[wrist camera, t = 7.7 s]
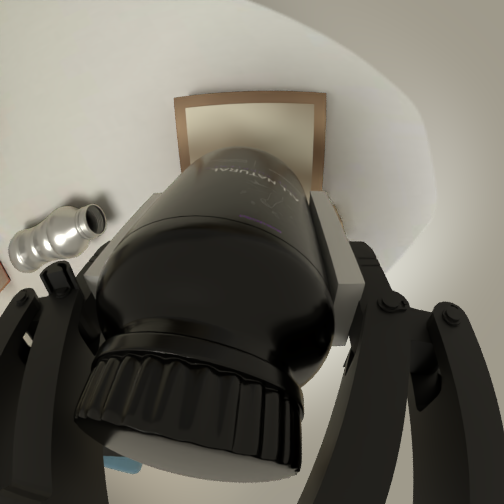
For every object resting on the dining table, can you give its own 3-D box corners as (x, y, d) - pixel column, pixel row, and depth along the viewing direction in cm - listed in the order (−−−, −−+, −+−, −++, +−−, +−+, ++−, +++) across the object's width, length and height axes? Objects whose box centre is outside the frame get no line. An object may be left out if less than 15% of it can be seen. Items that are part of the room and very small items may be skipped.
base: (312, 209, 28) (319, 229, 24) (198, 209, 29) (188, 228, 25) (317, 92, 21) (327, 93, 18) (187, 96, 22) (172, 98, 18)
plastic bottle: (18, 226, 31) (92, 179, 26) (41, 254, 35) (121, 223, 31) (-3, 254, 26) (65, 214, 22) (24, 284, 31) (101, 261, 26)
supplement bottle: (290, 127, 12) (402, 383, 2) (314, 248, 15) (353, 479, 5) (156, 165, 13) (-18, 362, 3) (201, 270, 16) (145, 473, 7)
